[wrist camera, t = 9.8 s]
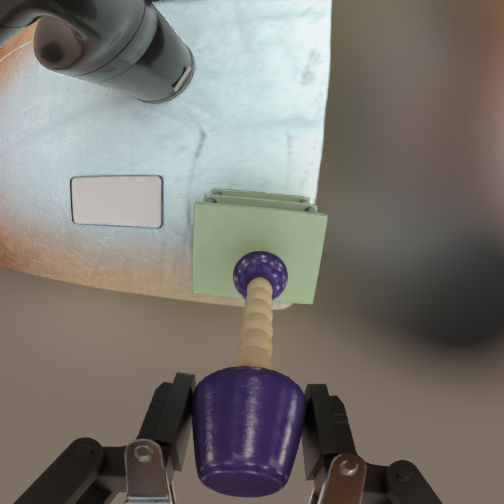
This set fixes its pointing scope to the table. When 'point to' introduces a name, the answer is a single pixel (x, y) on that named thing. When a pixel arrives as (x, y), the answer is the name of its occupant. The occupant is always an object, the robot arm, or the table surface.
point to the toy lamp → (249, 398)
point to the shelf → (256, 240)
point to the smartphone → (117, 201)
